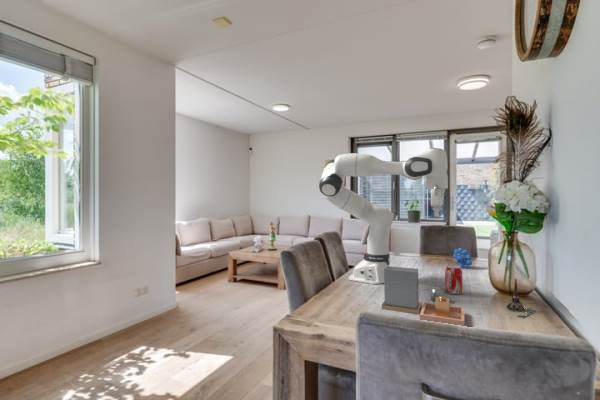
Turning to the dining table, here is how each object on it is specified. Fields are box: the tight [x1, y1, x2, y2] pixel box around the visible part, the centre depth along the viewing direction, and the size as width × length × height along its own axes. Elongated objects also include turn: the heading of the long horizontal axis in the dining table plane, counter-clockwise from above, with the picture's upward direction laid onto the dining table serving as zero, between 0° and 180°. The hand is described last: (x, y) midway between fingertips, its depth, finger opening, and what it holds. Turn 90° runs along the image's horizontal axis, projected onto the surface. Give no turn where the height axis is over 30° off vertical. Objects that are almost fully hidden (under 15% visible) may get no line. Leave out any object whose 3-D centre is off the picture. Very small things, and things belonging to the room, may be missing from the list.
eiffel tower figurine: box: [505, 278, 538, 319], centre depth 119 cm, size 15×10×13 cm
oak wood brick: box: [434, 295, 451, 318], centre depth 113 cm, size 4×4×7 cm
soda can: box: [444, 264, 464, 295], centre depth 141 cm, size 7×7×12 cm
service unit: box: [381, 265, 423, 315], centre depth 124 cm, size 14×10×16 cm
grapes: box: [452, 247, 473, 269], centre depth 186 cm, size 12×7×12 cm, turn 29°
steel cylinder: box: [430, 286, 445, 303], centre depth 131 cm, size 5×5×5 cm
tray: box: [419, 301, 466, 326], centre depth 113 cm, size 14×14×2 cm
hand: (437, 216), depth 138 cm, fingers open, 8 cm apart
